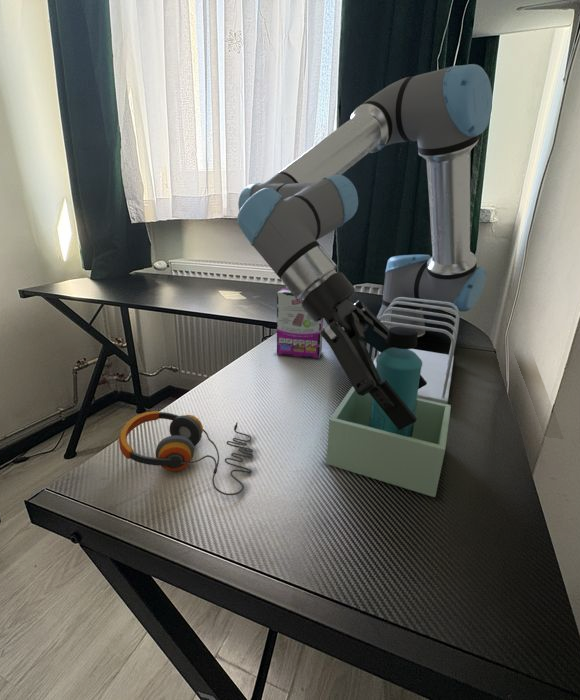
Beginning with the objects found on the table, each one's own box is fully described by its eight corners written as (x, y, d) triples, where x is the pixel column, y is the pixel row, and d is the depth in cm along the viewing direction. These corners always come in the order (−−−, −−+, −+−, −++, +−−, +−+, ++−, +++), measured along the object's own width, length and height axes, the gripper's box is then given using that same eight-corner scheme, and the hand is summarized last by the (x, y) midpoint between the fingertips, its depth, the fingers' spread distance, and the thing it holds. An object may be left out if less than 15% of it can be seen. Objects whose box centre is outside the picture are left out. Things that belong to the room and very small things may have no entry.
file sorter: (382, 351, 100) (389, 293, 94) (452, 363, 94) (464, 302, 88) (358, 390, 79) (365, 319, 73) (446, 409, 72) (462, 333, 67)
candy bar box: (321, 352, 98) (325, 290, 92) (319, 359, 94) (323, 294, 88) (280, 348, 100) (281, 287, 94) (275, 355, 96) (276, 291, 90)
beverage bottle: (414, 464, 56) (436, 338, 48) (369, 463, 56) (384, 336, 48) (402, 438, 62) (421, 322, 54) (362, 437, 62) (375, 321, 54)
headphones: (250, 483, 49) (95, 448, 47) (242, 514, 50) (93, 481, 49) (263, 415, 64) (147, 387, 63) (256, 440, 66) (143, 414, 65)
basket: (350, 422, 67) (353, 384, 64) (442, 446, 61) (451, 405, 58) (326, 464, 57) (329, 419, 54) (435, 497, 51) (445, 449, 48)
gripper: (327, 287, 66) (405, 384, 66) (264, 322, 47) (375, 461, 46) (359, 259, 62) (443, 362, 62) (305, 284, 43) (427, 436, 42)
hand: (414, 404), depth 54 cm, fingers open, 11 cm apart
